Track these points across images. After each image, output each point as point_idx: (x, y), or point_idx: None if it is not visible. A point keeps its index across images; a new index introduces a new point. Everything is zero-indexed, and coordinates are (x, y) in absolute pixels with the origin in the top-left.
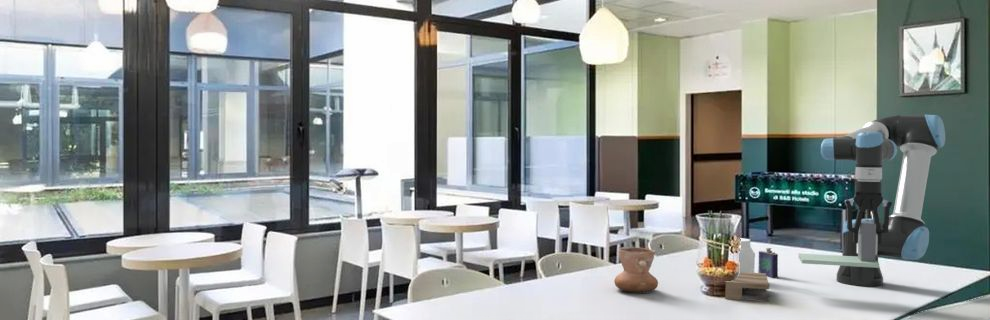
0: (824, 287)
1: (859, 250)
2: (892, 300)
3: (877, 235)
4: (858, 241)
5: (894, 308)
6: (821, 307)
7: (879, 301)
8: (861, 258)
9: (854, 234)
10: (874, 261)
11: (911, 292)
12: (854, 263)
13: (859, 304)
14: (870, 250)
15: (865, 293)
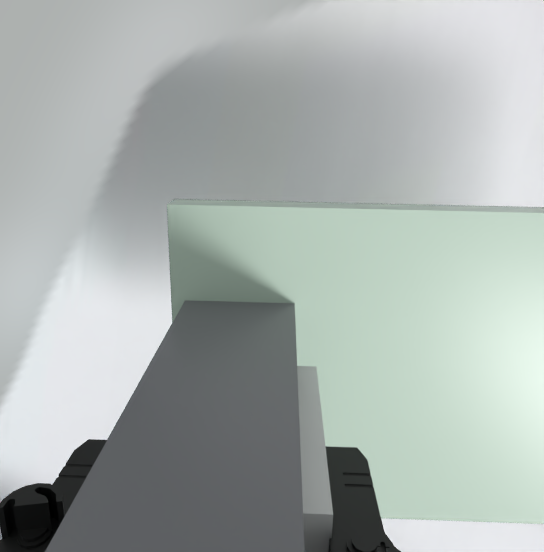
0: (387, 518)
1: (305, 382)
2: (130, 335)
3: None
4: (322, 439)
5: (146, 147)
6: (528, 26)
7: None
8: (292, 312)
9: (376, 524)
10: (190, 300)
11: None
12: (367, 207)
13: (303, 185)
14: (209, 343)
15: None
